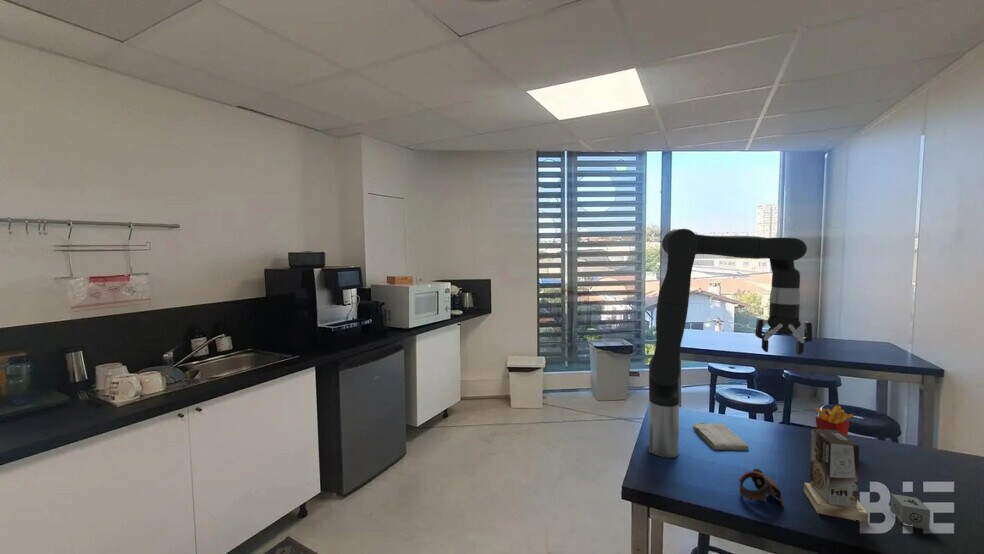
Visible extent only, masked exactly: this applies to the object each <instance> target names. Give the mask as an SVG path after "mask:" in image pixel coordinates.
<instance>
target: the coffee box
mask: <svg viewBox="0 0 984 554" xmlns="http://www.w3.org/2000/svg"><path fill="white" fill-rule="evenodd" d="M810 433H811V434H810V438H811V439H810V475H809V476H810V477H809V478H810V482H809V483H810V485H811V486H812V487H813V488H814V489H815V490H816V491H817V492H818V493H819V494H820V495H821V496H822V497H823V498H824V499H825V500H826V501H827V502H828V503H829V504H835V505H843V506H850V507H857V500H858V489H859V487H858V486H859V485H858V484H859V483H858V481H859V465H860V464H859V463H860V462H859V461H860V458H859V457H860V445H859V444H858V443H857V442H856V441H854V440H852V439H850V438H849V437H848V436H847V437H846V436H845V435H843V434H842V433H841V432H839V431H838V430H827V429H817V428H811V431H810Z"/></svg>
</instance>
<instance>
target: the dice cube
mask: <svg viewBox="0 0 984 554" xmlns="http://www.w3.org/2000/svg"><path fill="white" fill-rule="evenodd" d="M889 507H890V508H889V509H890V510H889V512H890V511H891V512H892V513H893V514H895V515H896V516H897V518H898V519H899V520H900V521H901V522H902V523H905V524H908V525H913V526H915V527H914V528H916V527H917V528H916V529H923V530H928V531H929V530H930V524H931V523H930V521H931V509H930V508H929V507H927V506H926V505H925V504H924V503H923V502H922V501H921V500H920V499H918V497H912V496H908V495H902V494H901V495H900V494H894V493H891V494H890V506H889Z"/></svg>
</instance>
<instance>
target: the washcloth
mask: <svg viewBox="0 0 984 554" xmlns="http://www.w3.org/2000/svg"><path fill="white" fill-rule="evenodd" d="M692 428H693V429H694V431H696V433H697V432H698V433H697V435H699V436H700V437H701V439H703V440H704V442H706V443H707V444H708V445H709V446H710V448H712V449H713V450H717V451H727V450H729V451H732V450H733V451H748V450H749V449H750V448H749V445H748V444H747V443H746V442H745V441H744V440H743V439H742V438H740V437H739V436H738V435H737V434H736V433H735V432H734V431H732V430H731V429H730V428H729V427H728V426H726V425H725V424H724V423H721V422H719V423H717V422H716V423H708V422H706V423H705V422H695V423H694V424H693V425H692Z"/></svg>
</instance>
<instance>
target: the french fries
mask: <svg viewBox="0 0 984 554" xmlns="http://www.w3.org/2000/svg"><path fill="white" fill-rule="evenodd" d="M815 411H816V412H818V414H819V415H820V416H816V417H815V425H816V429H827V430H838V431H839V432H841V433H842V434H843V435H845V436H846V437H848V435H849V429H850V424H851V423H850V421H847V419H850V418H852V417H854V414H853V413H850V414H847V413H845V410H844V409H842V407H841V406H840V405H834V407H832V409H831V410H830V409H829V408H822V409H820V408H819V407H815ZM826 412H827V414H826Z"/></svg>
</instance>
